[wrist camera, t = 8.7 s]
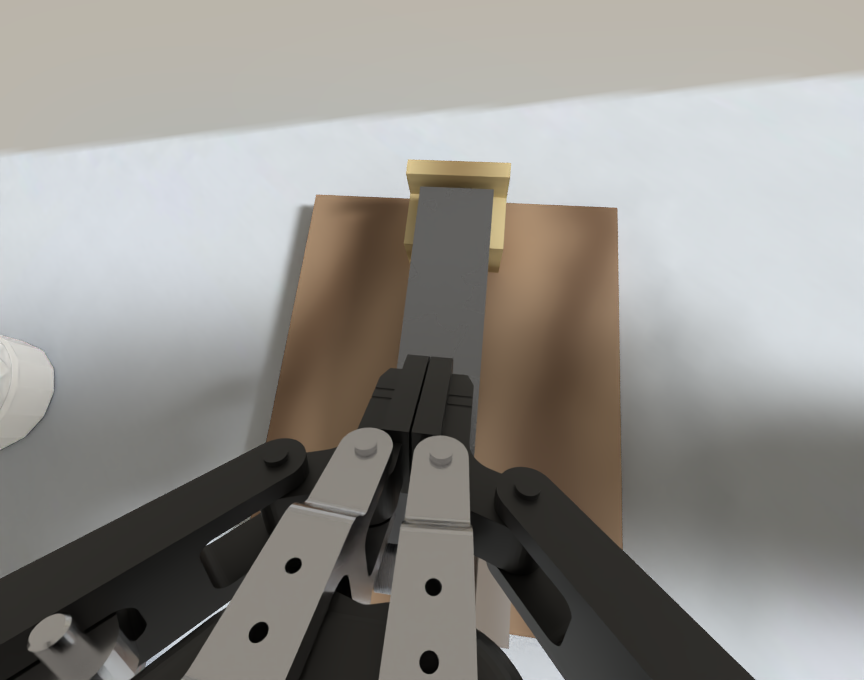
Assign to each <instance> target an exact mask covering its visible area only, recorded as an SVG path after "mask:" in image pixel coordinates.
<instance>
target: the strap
mask: <svg viewBox="0 0 864 680" xmlns="http://www.w3.org/2000/svg"><path fill="white" fill-rule="evenodd" d="M493 196H494V189H472V188H447V187H423V186H420V193H419V200H418V208H417V216H416V224H415V231H414V239H413V247H412V255H411V262H410V270H409V278H408V285H407V293H406V301H405V309H404V316H403V324H402V332H401V340H400V347H399V355H398V363H397V369H402V368H403V365H404V362H405V359H406V357H407V355H408V354H410V355H421V356H430V359H431V356H433V357H444V358H453V374H461V375H468V376H469V378H470V380H471V381H472V383H473V385H474V390H473V403H472V416H471V429H470V450H471V452H472V454H473V456H474V453H475V439H476V426H477V412H478V399H479V385H480V372H481V358H482V344H483V331H484V317H485V304H486V290H487V277H488V263H489V250H490V236H491V223H492V209H493ZM407 498H408V494H406V493H400V496H399V500H398V504H397V508H396V517H395V521H394V524H393V527H392V530H391V533H390V536H389V539H388V542H387V545H386V548H385V551H384V554H383V557H382V560H381V563H380V566H379V569H378V573H377V576H376V579H375V582H374V585H373V591H374V592H375V593H382V594H388V595H391V590H392V583H393V576H394V569H395V562H396V555H397V548H398V541H399V534H400V528H401V523H402V521H404V519H405V512H406V505H407Z"/></svg>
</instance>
